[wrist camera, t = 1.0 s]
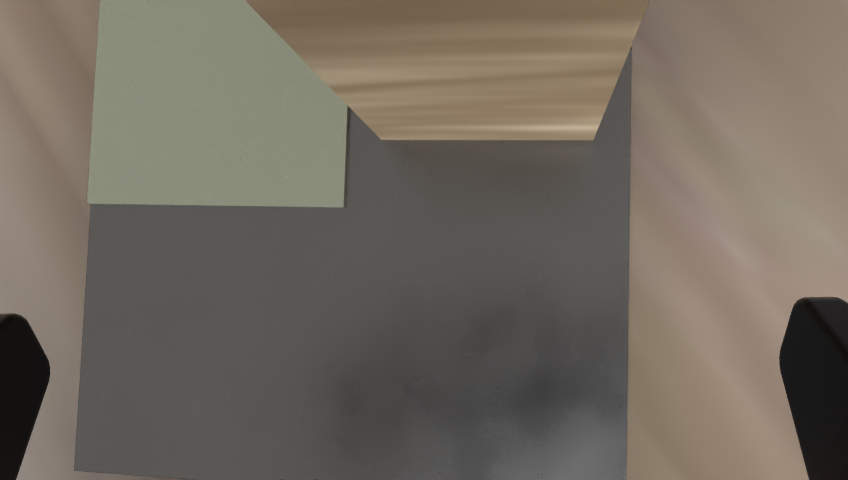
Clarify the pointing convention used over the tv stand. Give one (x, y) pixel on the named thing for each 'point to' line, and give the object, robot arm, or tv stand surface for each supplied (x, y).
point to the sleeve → (465, 62)
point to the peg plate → (337, 275)
